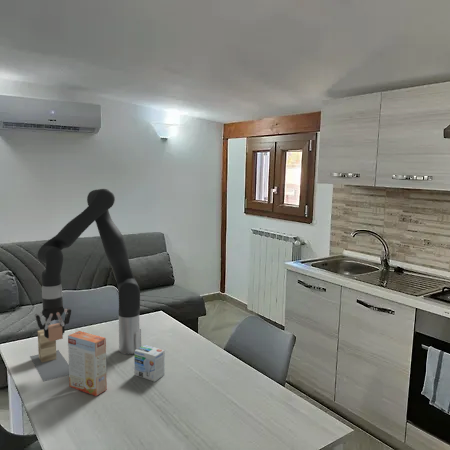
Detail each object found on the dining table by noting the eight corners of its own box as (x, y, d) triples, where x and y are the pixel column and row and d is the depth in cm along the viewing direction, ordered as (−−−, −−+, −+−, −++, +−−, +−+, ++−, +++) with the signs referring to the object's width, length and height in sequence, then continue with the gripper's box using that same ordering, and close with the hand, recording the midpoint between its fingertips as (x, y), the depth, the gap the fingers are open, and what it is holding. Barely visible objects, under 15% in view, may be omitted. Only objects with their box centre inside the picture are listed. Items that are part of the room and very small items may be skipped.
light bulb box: (133, 375, 174) (133, 350, 173) (144, 368, 180) (144, 344, 179) (155, 382, 169) (155, 356, 168) (165, 374, 175) (165, 349, 174)
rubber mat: (74, 374, 174) (74, 373, 174) (43, 382, 167) (43, 381, 167) (58, 350, 195) (58, 350, 195) (29, 357, 188) (29, 356, 188)
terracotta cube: (62, 338, 173) (62, 326, 173) (49, 341, 170) (49, 329, 170) (59, 334, 177) (58, 323, 177) (46, 337, 174) (46, 325, 174)
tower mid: (56, 345, 185) (55, 332, 184) (41, 349, 182) (40, 335, 181) (52, 341, 190) (52, 328, 189) (38, 344, 187) (37, 330, 186)
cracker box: (107, 389, 163) (106, 337, 160) (96, 397, 157) (94, 342, 155) (80, 380, 169) (79, 329, 166) (68, 387, 164) (67, 335, 161)
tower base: (56, 359, 186) (56, 345, 185) (41, 362, 183) (41, 349, 182) (53, 354, 191) (52, 341, 190) (38, 357, 188) (38, 344, 187)
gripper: (68, 290, 178) (70, 329, 181) (31, 296, 170) (33, 337, 173) (73, 294, 172) (75, 335, 175) (35, 301, 164) (37, 343, 167)
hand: (54, 335), depth 174 cm, fingers closed on terracotta cube, 5 cm apart
